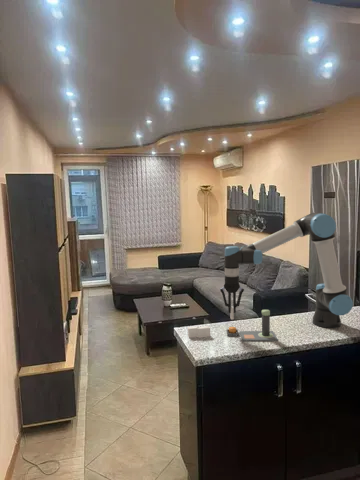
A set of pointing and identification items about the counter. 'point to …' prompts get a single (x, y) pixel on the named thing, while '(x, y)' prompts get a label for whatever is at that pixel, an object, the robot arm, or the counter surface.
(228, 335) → the button housing
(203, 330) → the white block piece
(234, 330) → the button
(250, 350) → the counter surface
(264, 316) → the marker
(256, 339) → the board
